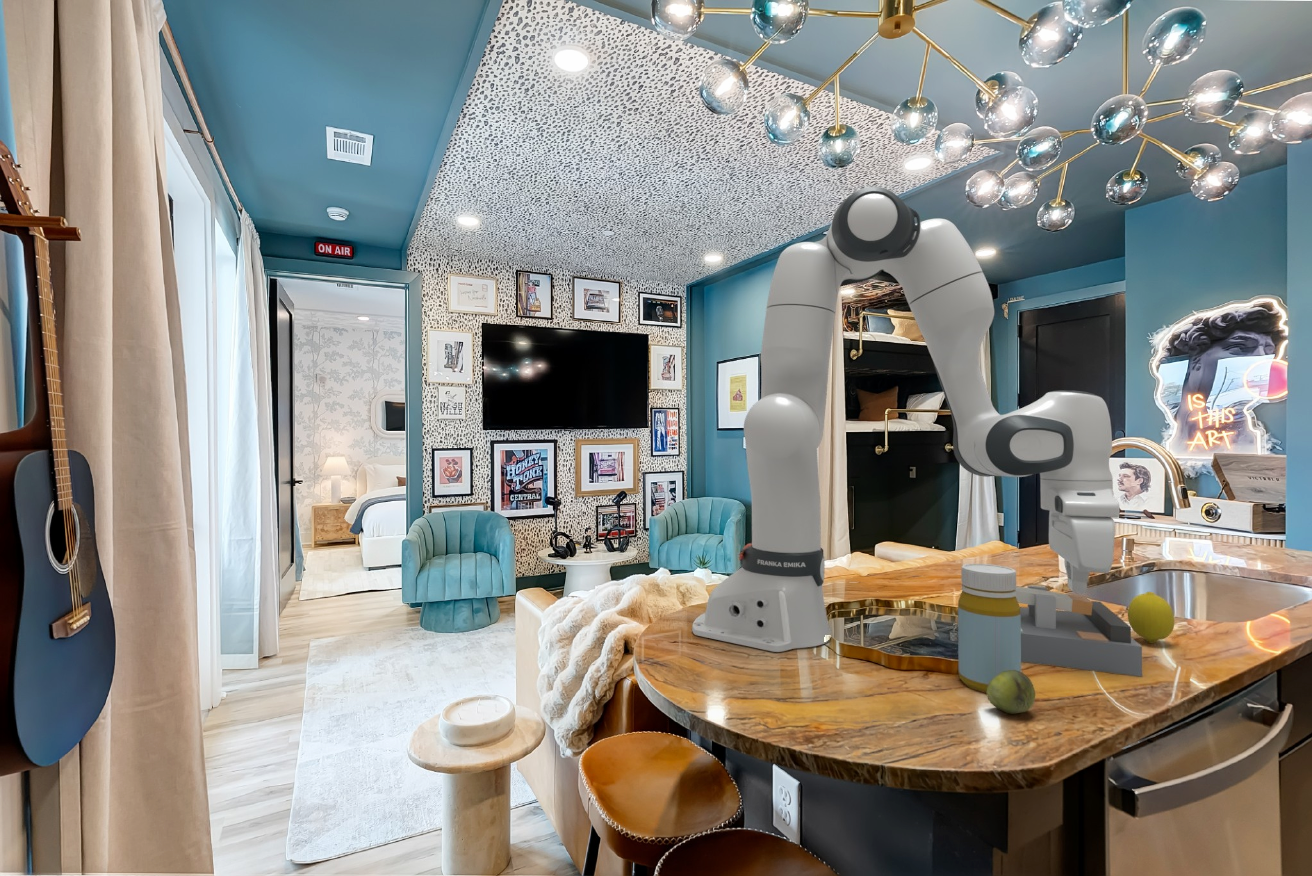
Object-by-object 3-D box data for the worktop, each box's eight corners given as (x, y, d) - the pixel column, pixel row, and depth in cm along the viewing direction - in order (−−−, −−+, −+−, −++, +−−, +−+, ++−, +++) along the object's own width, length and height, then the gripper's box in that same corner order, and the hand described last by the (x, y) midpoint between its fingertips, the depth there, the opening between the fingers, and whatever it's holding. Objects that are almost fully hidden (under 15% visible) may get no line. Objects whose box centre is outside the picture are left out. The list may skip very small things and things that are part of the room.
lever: (997, 600, 90) (998, 587, 90) (993, 593, 94) (994, 582, 94) (1091, 615, 85) (1093, 602, 85) (1084, 608, 89) (1085, 596, 89)
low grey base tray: (972, 655, 86) (971, 596, 86) (963, 624, 101) (963, 574, 101) (1142, 676, 78) (1141, 612, 78) (1105, 639, 93) (1105, 585, 93)
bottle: (1030, 698, 71) (1029, 575, 72) (968, 693, 73) (967, 573, 73) (1008, 676, 78) (1007, 564, 78) (952, 672, 80) (951, 562, 80)
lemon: (1182, 651, 88) (1181, 597, 88) (1137, 646, 89) (1136, 594, 90) (1163, 639, 93) (1163, 588, 93) (1121, 635, 95) (1121, 586, 95)
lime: (982, 711, 68) (982, 668, 68) (1000, 700, 71) (1000, 659, 71) (1025, 726, 64) (1024, 680, 64) (1042, 713, 67) (1041, 670, 67)
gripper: (1037, 492, 99) (1038, 575, 98) (1066, 504, 80) (1068, 606, 80) (1082, 493, 96) (1083, 578, 96) (1124, 506, 77) (1125, 611, 77)
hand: (1077, 591), depth 88 cm, fingers closed
